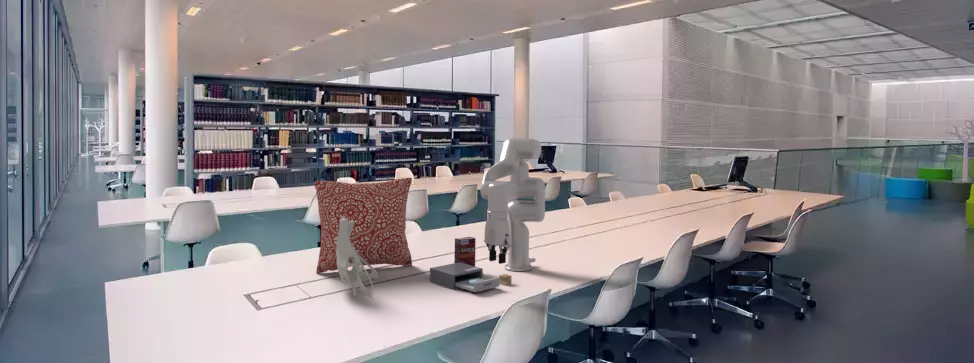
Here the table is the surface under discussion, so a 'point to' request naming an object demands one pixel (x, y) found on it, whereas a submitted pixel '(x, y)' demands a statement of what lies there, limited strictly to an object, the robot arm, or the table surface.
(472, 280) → the dome with round knob
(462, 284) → the tray
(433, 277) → the box
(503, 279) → the tan cube
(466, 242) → the supplement box
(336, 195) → the pillow
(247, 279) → the table surface
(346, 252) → the sculpture
